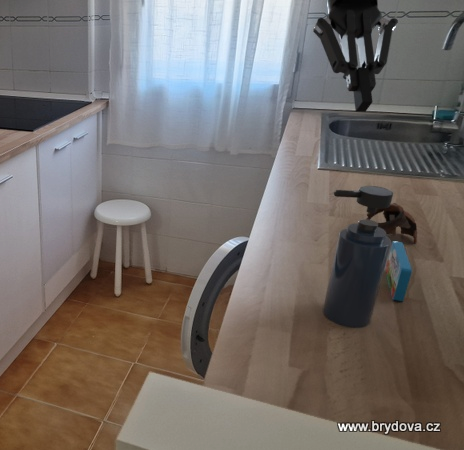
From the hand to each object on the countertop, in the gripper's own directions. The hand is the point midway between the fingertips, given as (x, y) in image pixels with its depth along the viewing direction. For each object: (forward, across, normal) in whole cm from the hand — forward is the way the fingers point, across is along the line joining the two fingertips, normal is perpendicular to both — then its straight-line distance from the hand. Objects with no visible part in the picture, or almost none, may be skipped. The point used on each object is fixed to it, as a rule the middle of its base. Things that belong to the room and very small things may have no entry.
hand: (363, 106), depth 85 cm
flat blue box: (+22, -11, -22) cm, 34 cm away
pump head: (+18, +2, -1) cm, 18 cm away
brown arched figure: (+7, -19, -38) cm, 43 cm away
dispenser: (+30, 0, -14) cm, 33 cm away
